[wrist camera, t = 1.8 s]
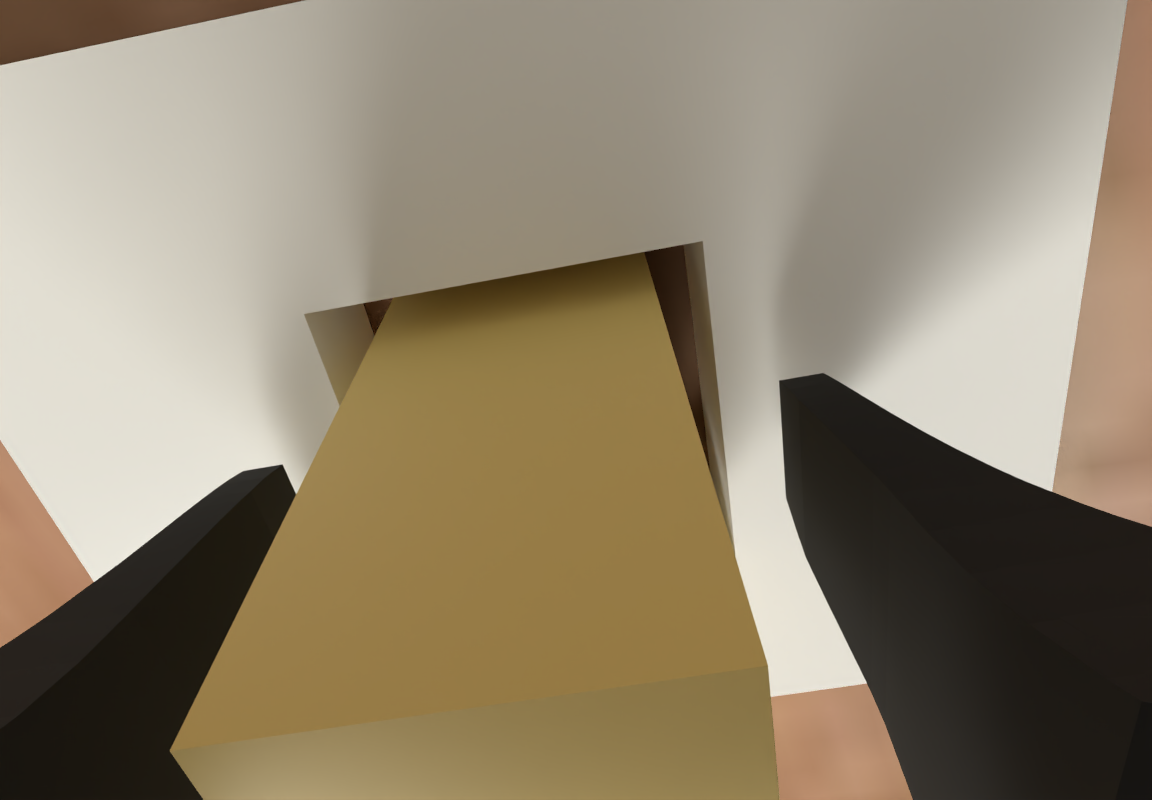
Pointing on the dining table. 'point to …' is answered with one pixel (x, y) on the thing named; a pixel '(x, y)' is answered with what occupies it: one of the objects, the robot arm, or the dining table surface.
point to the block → (499, 574)
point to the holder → (547, 231)
